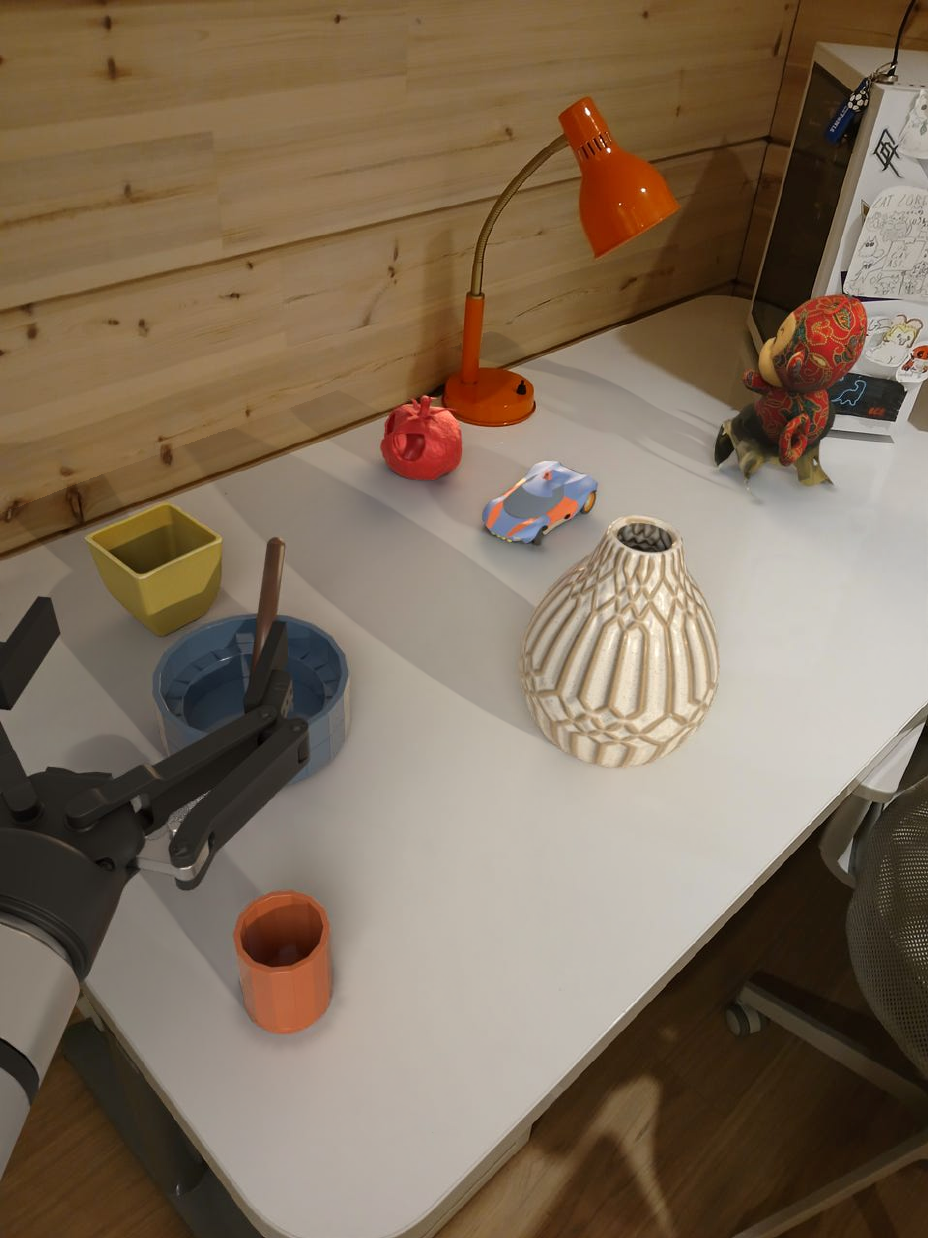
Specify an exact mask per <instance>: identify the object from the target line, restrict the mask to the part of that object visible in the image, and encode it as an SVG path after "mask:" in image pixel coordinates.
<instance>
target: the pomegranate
mask: <svg viewBox="0 0 928 1238" xmlns="http://www.w3.org/2000/svg"><path fill="white" fill-rule="evenodd" d="M436 399H437V397H431V396H427V395H425V394H423V395H422V396H421V397H420V399H419V401H420V402H419V403H420V404H419V403H418V402H417V400H416V399H415V398H406V400H407V401H411V403H412V404H410V403H409V404H407V403H406V404H403V405H400V406H394V407H391V409H393V411H391V413H390V414H389V415H388V417H387V419H386V420H385V422H384V433H383V439H382V440H381V441H380V445H379V448H380V451H381V455H382V457H383V459H384V462H385V463H386V465H387V466H388V467H389V468H390V469H391V470H392V471H394V472H395V473H397V474H398V475H400V476H401V477H404V478H406V479H409V480H418V481H435V480H437V479H438V478H439V477H441V476H442V475H445V474H449V473H451V472H453V471H454V470H456V468H458V466H459V465H460V464H461V460H462V457H463V437H462V429H461V426H460V425H461V424H460V423H459V422H458V420H457V419H456V418H455V417H454V416H453V414H452V412H456V411H458V410H459V408H457V409H456V408H455V409H454V408H449V407H448V408H444V407H441V406H431V404H432V403H433V400H436Z"/></svg>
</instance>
